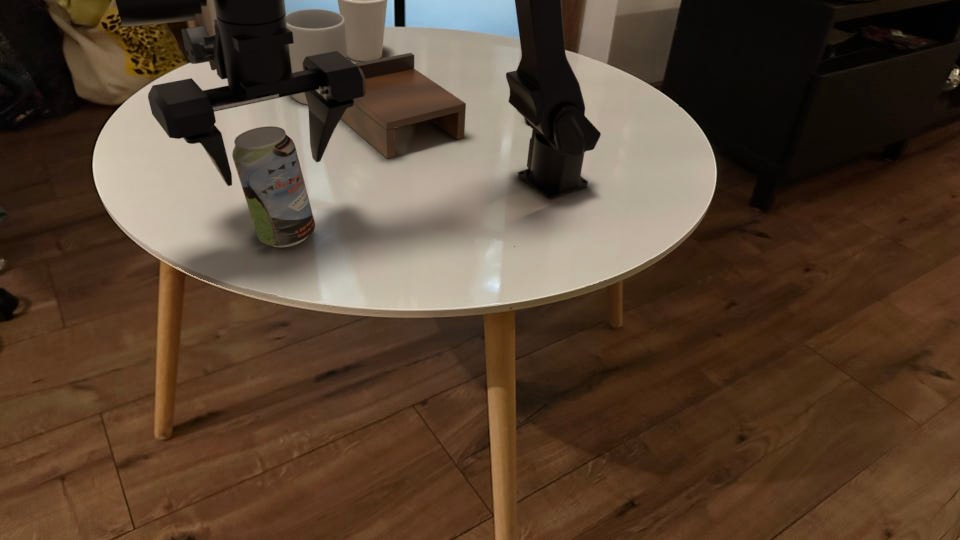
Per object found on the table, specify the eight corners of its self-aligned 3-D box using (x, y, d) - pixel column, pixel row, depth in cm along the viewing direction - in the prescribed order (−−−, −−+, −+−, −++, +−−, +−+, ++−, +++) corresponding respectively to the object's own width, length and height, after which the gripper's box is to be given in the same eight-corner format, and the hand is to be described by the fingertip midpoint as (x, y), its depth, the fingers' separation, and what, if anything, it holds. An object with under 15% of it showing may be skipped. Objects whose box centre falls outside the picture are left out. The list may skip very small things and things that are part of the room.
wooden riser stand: (464, 137, 94) (466, 88, 90) (387, 159, 89) (386, 108, 84) (410, 98, 103) (410, 52, 99) (337, 115, 97) (333, 67, 93)
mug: (358, 86, 105) (354, 13, 98) (336, 110, 99) (330, 33, 92) (285, 74, 107) (276, 1, 100) (258, 96, 100) (247, 20, 94)
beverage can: (302, 259, 71) (290, 156, 64) (236, 247, 72) (215, 144, 65) (325, 225, 76) (316, 126, 69) (262, 215, 77) (246, 115, 70)
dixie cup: (372, 42, 120) (370, -19, 114) (399, 58, 115) (399, -4, 109) (329, 51, 115) (325, -11, 109) (356, 68, 110) (353, 4, 104)
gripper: (311, -25, 69) (323, 119, 79) (111, 1, 60) (153, 160, 70) (364, 9, 62) (371, 162, 72) (148, 43, 53) (189, 213, 63)
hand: (273, 171), depth 69 cm, fingers open, 9 cm apart
